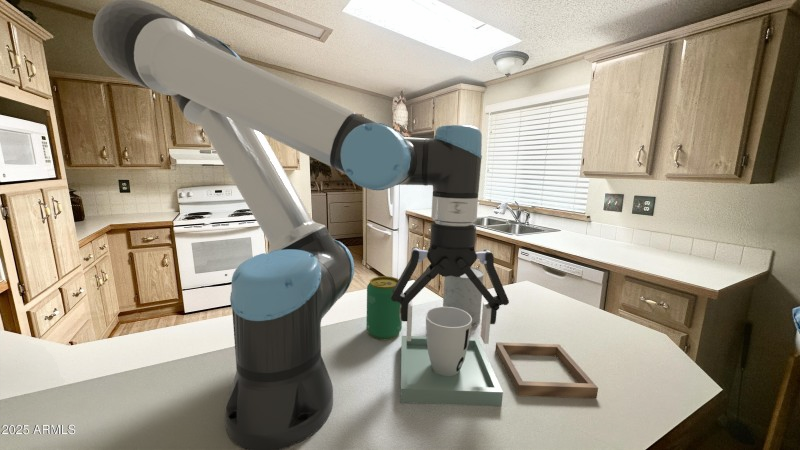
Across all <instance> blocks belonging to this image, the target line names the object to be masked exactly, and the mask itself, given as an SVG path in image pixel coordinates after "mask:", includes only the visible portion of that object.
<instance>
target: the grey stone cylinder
mask: <svg viewBox="0 0 800 450" xmlns="http://www.w3.org/2000/svg"><path fill="white" fill-rule="evenodd" d="M470 268H471V269H472V271H473V272H474V273H475V275H476V276H477V277H478V278H479V280H480V281H481V282H482V283H483V284H484V276H485V272H484V271H483V270H481V269H479V268H477V267H474V266H473V267H472V266H471V267H470ZM443 281H444V282H443V283H444V284H443V297H442V307H453V308H458V309H461V310H463V311H465V312H467V313H468V314H469V315H470V316H471V317H472V323H471V328H473V327H476V326H478V325H479V324H481V315H482V300H483V299H482V298H483V295H482V294H481V293H480V292H479V290H478V289H477V288H476V287H475V285H474V284H473V283H472V281H471V280H470V279H469V278H468V277H467V275H466V274H464V275H462V276H460V277H454V276H447V277H444V280H443Z"/></svg>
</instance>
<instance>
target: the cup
mask: <svg viewBox="0 0 800 450" xmlns="http://www.w3.org/2000/svg"><path fill="white" fill-rule="evenodd" d="M471 323H472V317H471V316H470V315H469V314H468V313H467V312H465V311H463V310H461V309H458V308H453V307H443V306H437V307H433V308H431V309H429V310H428V311H426V313H425V334H426V335H425V336H426V339H427V346H428V354H429V358H430V361H431V365H432V368H433V370H434V371H435V372H436V373H438V374H440V375H442V376H454V375H456V374H458V373H459V371H460V369H461V367H462V364H463V362H464V360H465V356H466V352H467V348H468V344H469V338H471V329H472V327H471Z"/></svg>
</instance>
